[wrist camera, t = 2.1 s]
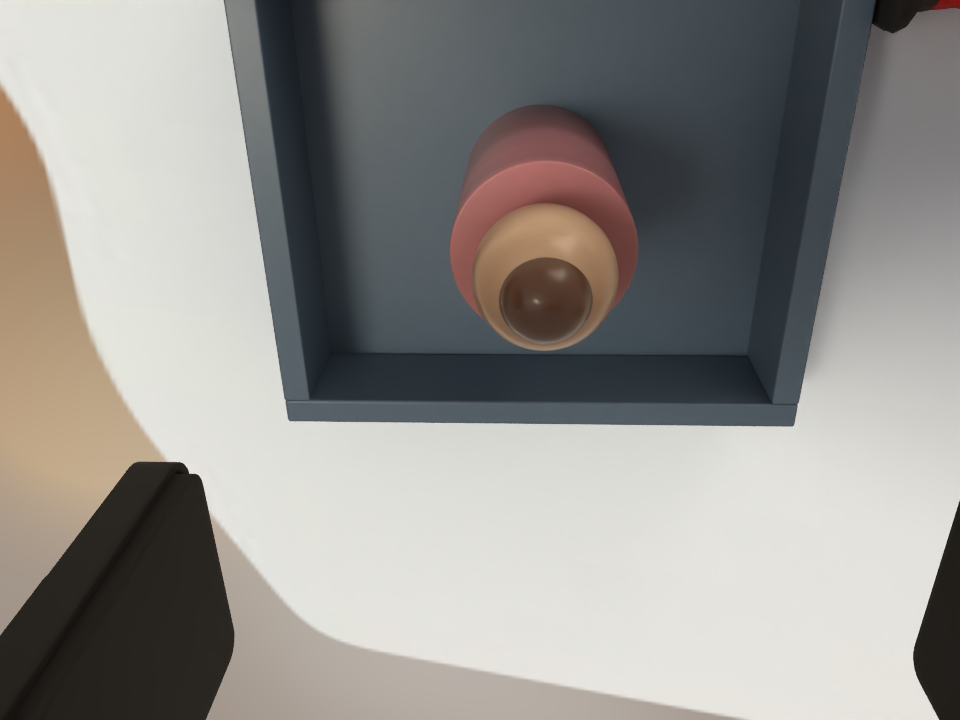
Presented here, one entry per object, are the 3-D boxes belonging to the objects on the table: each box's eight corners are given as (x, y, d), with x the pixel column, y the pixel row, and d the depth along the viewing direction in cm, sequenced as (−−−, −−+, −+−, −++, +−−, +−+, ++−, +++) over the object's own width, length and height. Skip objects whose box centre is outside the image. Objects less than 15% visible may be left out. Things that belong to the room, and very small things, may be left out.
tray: (258, -69, 22) (212, -69, 19) (837, -81, 22) (893, -83, 18) (314, 365, 29) (287, 422, 25) (763, 369, 28) (794, 427, 25)
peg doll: (464, 105, 24) (429, 207, 15) (616, 103, 24) (670, 207, 15) (468, 247, 26) (439, 410, 17) (607, 247, 26) (650, 412, 17)
